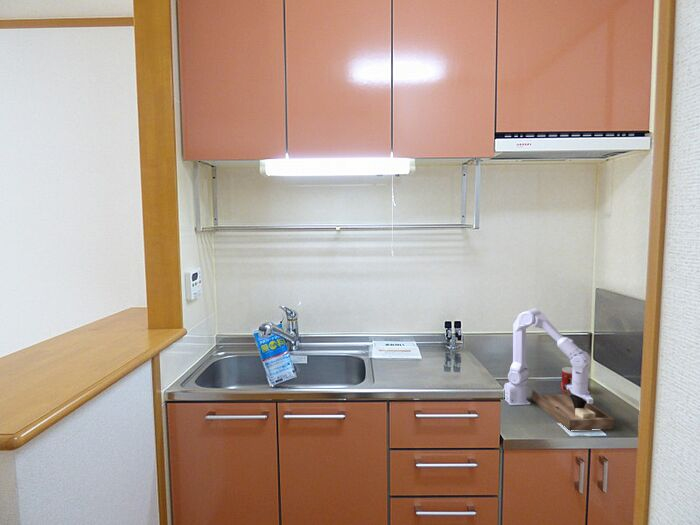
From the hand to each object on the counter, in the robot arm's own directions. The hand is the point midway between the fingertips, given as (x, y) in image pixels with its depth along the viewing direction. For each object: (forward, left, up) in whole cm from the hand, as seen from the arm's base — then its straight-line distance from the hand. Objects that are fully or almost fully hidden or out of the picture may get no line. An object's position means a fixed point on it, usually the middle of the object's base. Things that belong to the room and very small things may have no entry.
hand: (578, 412), depth 166 cm
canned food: (+14, +28, -3) cm, 31 cm away
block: (0, -4, -1) cm, 4 cm away
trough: (0, +7, -3) cm, 7 cm away
